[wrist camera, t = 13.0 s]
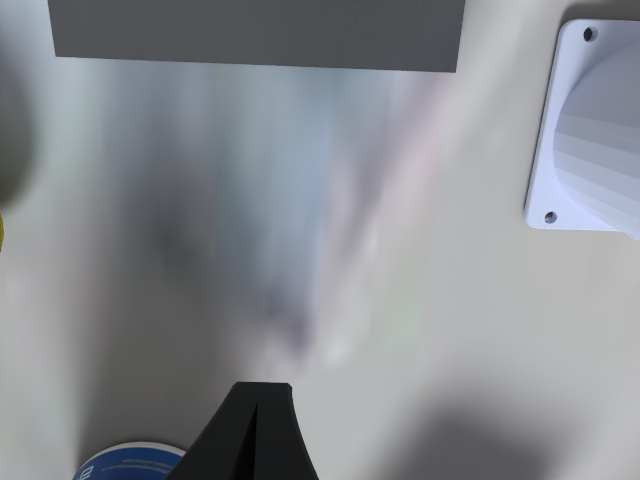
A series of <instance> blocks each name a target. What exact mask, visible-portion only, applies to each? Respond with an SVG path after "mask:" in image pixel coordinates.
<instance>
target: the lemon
mask: <svg viewBox="0 0 640 480" xmlns="http://www.w3.org/2000/svg"><path fill="white" fill-rule="evenodd" d="M3 237H4V230H3V219H2V217H1V214H0V252H1V247H2V242H3Z"/></svg>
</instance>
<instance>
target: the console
mask: <svg viewBox="0 0 640 480" xmlns="http://www.w3.org/2000/svg"><path fill="white" fill-rule="evenodd" d="M464 5H465V0H48V7H49V14H50V20H51V27H52V34H53V41H54V48H55V55H56V57H79V58H104V59H129V60H154V61H178V62H203V63H228V64H253V65H277V66H302V67H327V68H352V69H376V70H401V71H426V72H451V73H456V67H457V59H458V51H459V43H460V36H461V28H462V20H463V12H464Z"/></svg>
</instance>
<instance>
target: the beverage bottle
mask: <svg viewBox="0 0 640 480" xmlns="http://www.w3.org/2000/svg"><path fill="white" fill-rule="evenodd" d="M185 453H186V452H185V451H183V450H181V449H178V448H176V447H173V446H169V445H166V444H161V443H154V442H130V443H124V444H119V445H116V446H113V447H110V448H107V449H105V450H103V451H101V452H99V453H97V454H96V455H94V456H93V457H91V458H90V459H89V460H88V461H87V462H86V463H84V464H83V466H82V467H81V468H80V469H79V470H78V472H77V473H76V474H75V476H74V478H73V480H163V479H164V478H165V477H166V475H167V474H168V473H169V472H170V471H171V470H172V468H173V467H174V466H175V465H176V464H177V463H178V461H179V460H180V459H181V458H182V457H183V455H184V454H185Z"/></svg>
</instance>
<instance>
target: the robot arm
mask: <svg viewBox="0 0 640 480" xmlns="http://www.w3.org/2000/svg"><path fill="white" fill-rule="evenodd" d="M587 28H590V29H591V30H592V36H591V38H590V40H588V41H585V39H584V36H583V34H584V32H585V30H586V29H587ZM548 212H553V216H552V218H551V219H549V220H547V221H545V216H546V214H547V213H548ZM524 220H525V222H526V223H527V224H528V225H529V226H531V227H533V228H543V229H574V230H604V231H621V232H623V233H625V234H626V235H628V236H630V237H632V238H634V239H636V240H638V241H639V242H640V21H624V20H601V19H574V20H570V21H568V22H566V23H565V24H564V25H563V26H562V28H561V30H560V32H559V36H558V41H557V46H556V51H555V56H554V62H553V67H552V72H551V77H550V82H549V87H548V92H547V97H546V103H545V108H544V113H543V118H542V123H541V128H540V133H539V138H538V144H537V149H536V154H535V159H534V164H533V169H532V174H531V179H530V184H529V190H528V195H527V200H526V205H525V210H524ZM163 480H319V478H318V476H317V474H316V471H315V469H314V467H313V465H312V462H311V460H310V457H309V455H308V452H307V449H306V446H305V443H304V441H303V438H302V435H301V432H300V429H299V425H298V422H297V418H296V414H295V410H294V405H293V399H292V387H291V386H290V385H289V384H288V383H268V382H237V383H235V384H234V385H233V386H232V388H231V390H230V391H229V393H228V395H227V396H226V398H225V400H224V401H223V403H222V404H221V406H220V407H219V409H218V410H217V412H216V413H215V415H214V416H213V418H212V419H211V420H210V422H209V423H208V425H207V426H206V427H205V429H204V430H203V431H202V433H201V434H200V435H199V437H198V438H197V439H196V441H195V442H194V443H193V444H192V446H191V447H190V448H189V449H188V451H187V452H186V453H185V454H184V455H183V457H182V458H181V459H180V460H179V461H178V463H177V464H176V465H175V466H174V467H173V468H172V470H171V471H170V472H169V473H168V474H167V475H166V477H165V478H164V479H163Z"/></svg>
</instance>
